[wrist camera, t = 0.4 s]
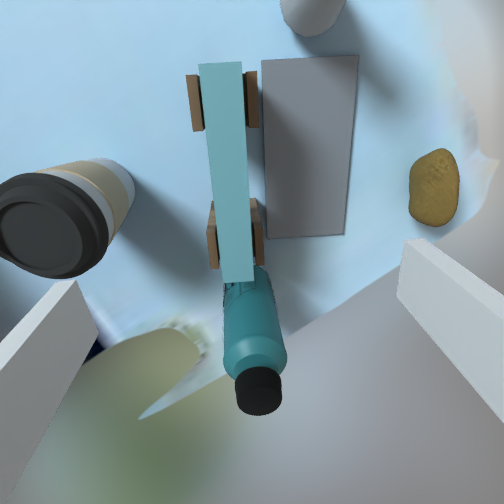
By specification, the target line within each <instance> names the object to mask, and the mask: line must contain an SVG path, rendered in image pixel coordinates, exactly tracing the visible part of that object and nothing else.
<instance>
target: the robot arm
mask: <svg viewBox="0 0 504 504" xmlns="http://www.w3.org/2000/svg"><path fill="white" fill-rule="evenodd" d="M396 297H397V298H398V299H399V300H400V301H401V303H402V304H403V305H404V306H405V307H406V308H407V309H408V311H409V312H410V313H411V314H412V315H413V317H414V318H415V319H416V320H417V321H418V323H419V324H420V325H421V326H422V327H423V328H424V330H425V331H426V332H427V333H428V334H429V336H430V337H431V338H432V339H433V340H434V342H435V343H436V344H437V345H438V346H439V347H440V349H441V350H442V351H443V352H444V353H445V355H446V356H447V357H448V358H449V359H450V360H451V362H452V363H453V364H454V365H455V366H456V368H457V369H458V370H459V371H460V372H461V373H462V375H463V376H464V377H465V378H466V379H467V380H468V382H469V383H470V384H471V385H472V386H473V388H474V389H475V390H476V391H477V392H478V393H479V395H480V396H481V397H482V398H483V399H484V401H485V402H486V403H487V404H488V405H489V406H490V408H491V409H492V410H493V411H494V412H495V414H496V415H497V416H498V417H499V418H500V419H501V421H502V422H503V423H504V296H503V295H502V294H500V293H499V292H497V291H496V290H495V289H493V288H492V287H491V286H489V285H488V284H486V283H485V282H484V281H482V280H481V279H480V278H478V277H477V276H475V275H474V274H473V273H471V272H470V271H468V270H467V269H466V268H464V267H463V266H462V265H460V264H459V263H457V262H456V261H455V260H453V259H452V258H450V257H449V256H448V255H446V254H445V253H443V252H442V251H441V250H439V249H438V248H437V247H435V246H434V245H432V244H431V243H430V242H428V241H427V240H425V239H424V238H418V239H410V240H404V247H403V254H402V260H401V267H400V274H399V282H398V289H397V296H396ZM98 334H99V332H98V330H97V328H96V325H95V323H94V321H93V318H92V316H91V314H90V311H89V309H88V306H87V304H86V302H85V299H84V297H83V295H82V292H81V290H80V288H79V285H78V283H77V281H76V280H69V281H61V282H56V283H55V284H54V285H53V286H52V287H51V288H50V290H49V291H48V292H47V293H46V294H45V295H44V296H43V297H42V298H41V299H40V300H39V301H38V303H37V304H36V305H35V306H34V307H33V308H32V309H31V310H30V311H29V312H28V313H27V314H26V315H25V317H24V318H23V319H22V320H21V321H20V322H19V323H18V324H17V325H16V326H15V327H14V328H13V330H12V331H11V332H10V333H9V334H8V335H7V336H6V337H5V338H4V339H3V340H2V341H1V343H0V504H6V503H7V501H8V499H9V497H10V495H11V493H12V492H13V490H14V488H15V486H16V484H17V483H18V481H19V479H20V477H21V475H22V473H23V472H24V470H25V468H26V466H27V464H28V462H29V460H30V459H31V457H32V455H33V453H34V451H35V449H36V448H37V446H38V444H39V442H40V440H41V439H42V437H43V435H44V433H45V431H46V429H47V427H48V426H49V424H50V422H51V420H52V418H53V417H54V415H55V413H56V411H57V409H58V407H59V406H60V404H61V402H62V400H63V398H64V396H65V394H66V393H67V391H68V389H69V387H70V385H71V383H72V382H73V380H74V378H75V376H76V374H77V372H78V371H79V369H80V367H81V365H82V363H83V361H84V360H85V358H86V356H87V354H88V352H89V350H90V349H91V347H92V345H93V343H94V341H95V339H96V338H97V336H98Z"/></svg>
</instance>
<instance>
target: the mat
mask: <svg viewBox="0 0 504 504" xmlns="http://www.w3.org/2000/svg"><path fill="white" fill-rule="evenodd" d="M358 61H359V55H348V56H330V57H311V58H293V59H275V60H262V61H261V65H262V96H263V127H264V158H265V188H266V219H267V239H278V238H292V237H305V236H319V235H332V234H343V227H344V216H345V205H346V193H347V182H348V171H349V160H350V149H351V138H352V127H353V116H354V105H355V94H356V83H357V72H358Z"/></svg>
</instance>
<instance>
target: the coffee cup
mask: <svg viewBox="0 0 504 504" xmlns="http://www.w3.org/2000/svg"><path fill="white" fill-rule="evenodd" d="M134 199H135V185H134V182H133V180H132V178H131V176H130V174H129V173H128V172H127V171H126V169H125V168H123V167H122V166H121V165H120V164H118V163H117V162H115V161H112V160H110V159H106V158H94V159H90V160H86V161H76V162H71V163H67V164H63V165H59V166H55V167H51V168H47V169H43V170H39V171H36V172H34V173H25V174H20V175H17V176H14V177H12V178H10V179H8V180H7V181H5V182H3V183H2V184H0V257H2V258H4V259H6V260H8V261H10V262H12V263H14V264H15V265H16V266H18V267H20V268H21V269H23V270H26V271H28V272H30V273H32V274H35V275H38V276H41V277H45V278H51V279H68V278H73V277H76V276H79V275H81V274H83V273H85V272H86V271H88V270H89V269H90V268H92V267H94V266H95V265H96V264H97V263H98V262H99V261H100V260H101V259H102V258H103V256H104V254H105V252H106V250H107V247H108V246H109V244H110V243H111V241H112V240H113V238H114V236H115V235H116V233H117V231H118V230H119V228H120V226H121V224H122V223H123V221H124V219H125V218H126V216H127V213H128V210H129V209H130V207H131V205H132V204H133V202H134Z"/></svg>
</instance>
